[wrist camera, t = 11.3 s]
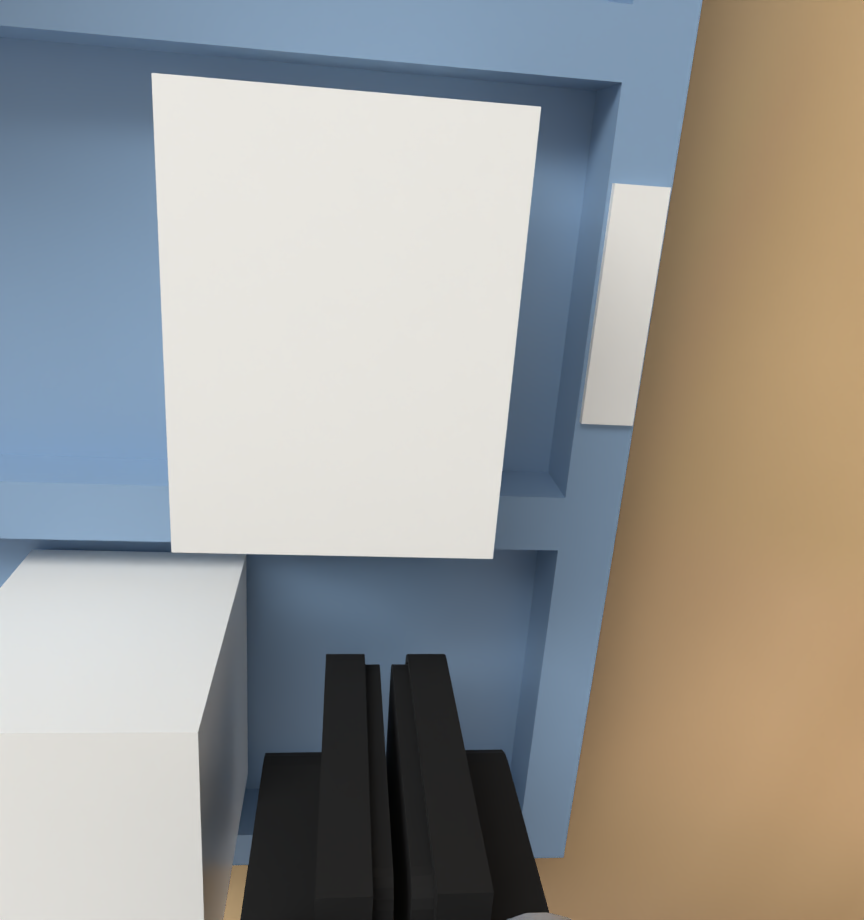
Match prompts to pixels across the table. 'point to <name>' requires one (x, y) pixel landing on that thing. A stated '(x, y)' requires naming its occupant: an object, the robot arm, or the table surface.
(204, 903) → the white square block
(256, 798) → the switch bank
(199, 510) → the white rectangular block
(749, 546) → the table surface
